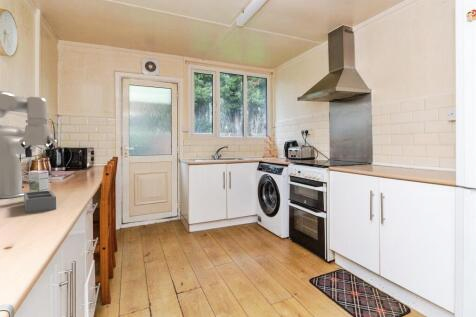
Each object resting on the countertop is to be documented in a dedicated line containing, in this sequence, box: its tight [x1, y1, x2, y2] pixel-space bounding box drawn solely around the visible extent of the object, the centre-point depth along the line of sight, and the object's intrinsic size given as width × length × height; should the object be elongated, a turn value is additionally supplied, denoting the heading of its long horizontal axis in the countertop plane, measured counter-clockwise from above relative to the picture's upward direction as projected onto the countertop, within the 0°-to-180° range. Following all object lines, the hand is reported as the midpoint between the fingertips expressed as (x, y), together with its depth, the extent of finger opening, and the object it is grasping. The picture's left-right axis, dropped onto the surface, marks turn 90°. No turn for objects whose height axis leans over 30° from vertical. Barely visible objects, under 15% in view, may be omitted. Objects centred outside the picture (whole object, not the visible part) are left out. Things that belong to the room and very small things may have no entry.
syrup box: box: [28, 170, 50, 192], centre depth 126 cm, size 6×6×14 cm
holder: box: [23, 189, 57, 214], centre depth 111 cm, size 19×10×6 cm, turn 42°
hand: (38, 157), depth 125 cm, fingers open, 9 cm apart
